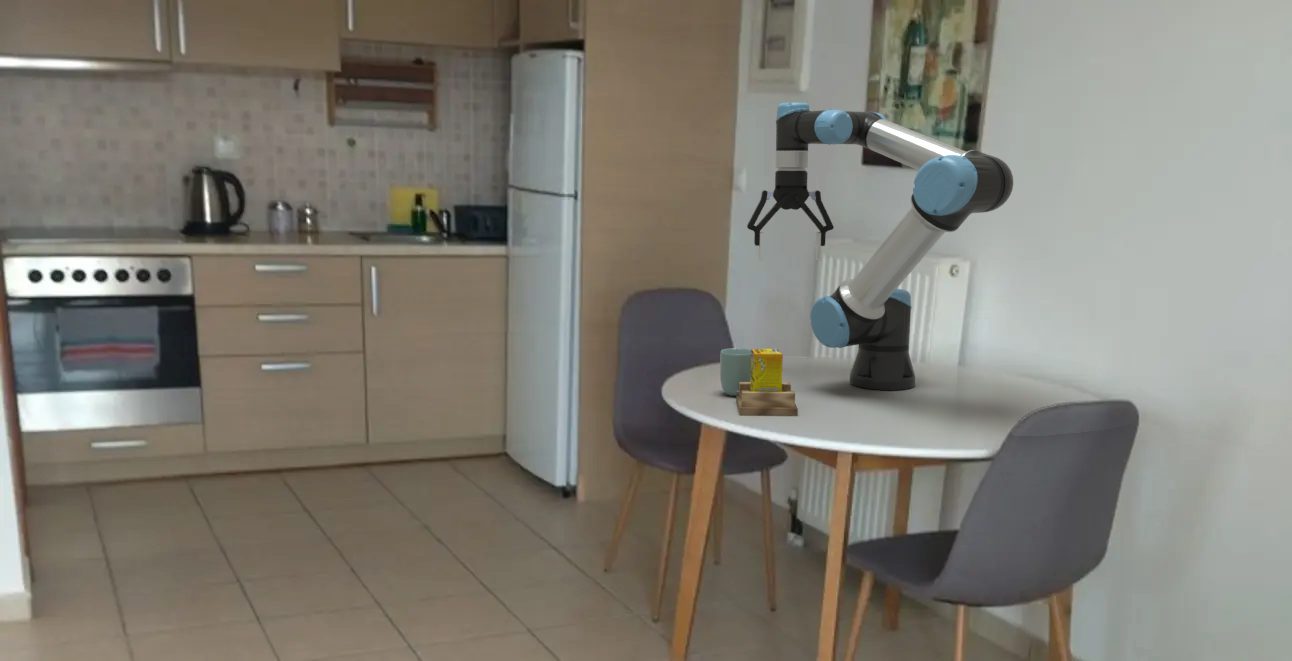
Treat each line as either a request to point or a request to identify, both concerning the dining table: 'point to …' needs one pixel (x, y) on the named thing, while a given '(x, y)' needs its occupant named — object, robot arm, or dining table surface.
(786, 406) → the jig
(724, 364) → the cup
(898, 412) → the dining table surface
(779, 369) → the supplement box
